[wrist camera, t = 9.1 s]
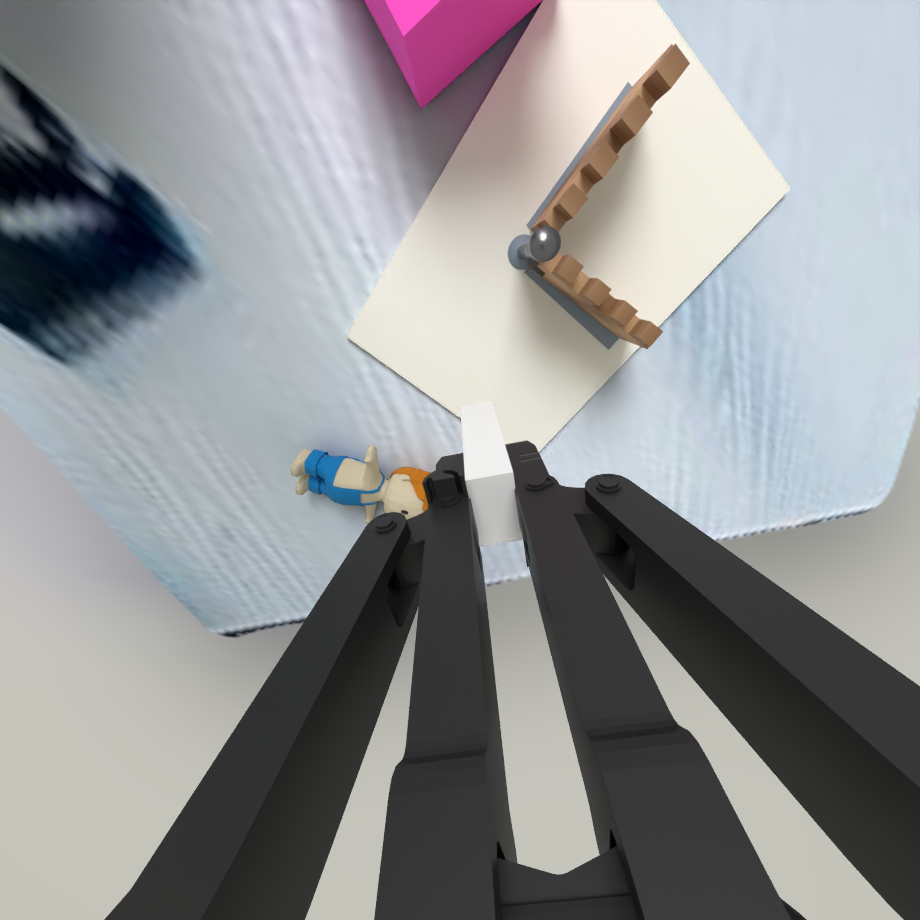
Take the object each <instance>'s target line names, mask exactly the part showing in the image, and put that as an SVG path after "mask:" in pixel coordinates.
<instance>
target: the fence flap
mask: <svg viewBox="0 0 920 920" xmlns="http://www.w3.org/2000/svg"><path fill="white" fill-rule="evenodd" d="M583 267H584V266H583V265H581V264H580V263H579V262H578V261H577V260H575V259H574V258H573V257H572V256H570V255H565V256H562V255H561V254H560V253H557V255H556V256H555V257H554V258H553V259H551V260H549V261H546V262H538V261H536V260H533V262H532V263H531V265H530V266H529V270H531V271H532V272H533V273H534V274H536V275H537V276H538V277H542V278H543V279H544V280H546V281H547V282H548V283H549V284H551V285H552V286H553V287H554V288H556V289H557V290H558V291H560V292H561V293H562V294H563V295H565V296H566V297H567V298H569V299H570V300H571V301H572V302H574V303H575V304H576V305H578V306H579V307H580V308H581V309H583V310H584V311H585V312H587V313H588V314H589V315H590V316H592V317H593V318H594V319H596V320H597V321H598V322H599V323H601V324H602V325H603V326H604V327H606V328H607V329H608V330H610V331H611V332H612V333H613V334H615V335H616V336H617V337H619V338H620V339H622V340H625V341H628V342H630V343H633V344H635V345H638V346H641V347H643V348H646V349H648V348H649V347H650V346H651V345H652V344H653V343H654V342H655V340H656V339H657V338H658V337H659V336H660V335H661V333H662V332H663V331H662V330H661V329H659V328H658V327H657V326H656V325H654V324H653V323H652V322H651V321H647V320H642V319H639V318H638V317H637V316H636V315H635V314H636V313H637V312H638V311H637V310H636V309H635V308H634V307H633V306H631V305H630V304H629V303H628V302H626V301H625V300H619V299H615V298H614V297H612V296H611V295H610V294H609V292H610V291H611V290H612V289H611V288H609V287H608V286H607V285H606V284H605V283H603V282H602V281H601V280H600V279H598V278H589V277H588V276H587V275H585V274H584V273H583V272H582V271H581V270H582V269H583Z"/></svg>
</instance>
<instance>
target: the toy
mask: <svg viewBox="0 0 920 920" xmlns="http://www.w3.org/2000/svg"><path fill="white" fill-rule="evenodd" d="M364 462H366V464H365V463H363V462H362V461H360V460H358V459H354V458H350V457H347V456H338V457H332V456H330V455H328V452H323V451H319V450H313V451H310V450H307V449H303V450H301V452H300V453H299V454H298V456H297V457H296V459H295V460H294V462H293V463H292V466H291V474H292V476H296V477H299V476H300V478H299V480H298V481H297V484H296V493H297V494H299V495H303V494H304V493H305V492H306V491H308V490H310V491H312V492H315V493H317V494H321V493H323V494H325V495H326V496H328V497H329V498H330V499H331V500H332V501H334V502H336V503H340V504H343V505H362V506H365V509H366V519H365V522H366V523H369V522H370V521H371V520H372V519H373V517H374V515H375V510H376V505H377V503H378V502H379V501H383V502H384V511H385V513H389V512H398V513H401V514H403V515H405V517H406V520H407V519H410V518H412V517H415V516H417V515H419V514H421V513H423V512H424V511H426V510H427V509H428V502H427V498H426V495H425V492H424V488H423V485H422V482H423V480H424V478H425V477H426V476H427V475H428V474H430V472H426V471H423V470H420V469H416V468H411V467H402V468H400V469H397V470H395V471H394V472H393V473H392V474H391V476H390V480H387V479H386V478H385V477H384V475H383V474H382V473H381V471H380V470H379V466H378V461H377V450H376V448H375V446H374V445H370V446H369V448H368V451H367V454H366V457H365V460H364ZM435 471H436V470H435Z"/></svg>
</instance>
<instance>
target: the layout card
mask: <svg viewBox="0 0 920 920" xmlns="http://www.w3.org/2000/svg"><path fill="white" fill-rule="evenodd" d="M671 44H672V45H673V46H674V45H675V44H676V45H677V46H678V47H679V49H680V50H681V51H682V53H683V54H684V56H685V57H686V58H687V60H688V61H689V63H690V64H689V65H688V67H687V68H686V69H685V71H684V72H683V73H682V75H681V76H680V77H679V79H678V80H677V81H676V83H675V84H674V85H673V87H672V88H671V89H670V90H669V91H668V92H667V93H665V94H664V95H663V96H662V97H661V98H660V99H659V100H657V101H656V103H655V104H654V105H653V107H652V108H651V110H652V112H653V113H652V115H651V116H650V117H649V119H648V120H647V121H646V122H645V124H644V125H643V126H642V128H641V129H640V130H639V132H638V133H637V134H636V136H634V137H633V138H632V139H631V140H629V141H628V142H627V143H625V144H624V145H623V147H622V148H621V149H620V151H619V152H618V153H617V155H618V156H619V158H618V160H617V161H616V162H615V164H614V165H613V166H612V168H611V169H610V170H609V172H608V173H607V174H606V176H605V177H604V178H603V179H602V180H600V181H599V182H597V183H596V184H594V185H593V187H592V188H591V189H590V191H589V192H588V193H587V195H586V197H587V198H588V199H587V201H586V202H585V203H584V205H583V206H582V207H581V209H580V210H579V211H578V213H577V214H576V215H575V217H574V218H572V219H570V220H568V221H566V223H565V224H564V225H563V227H562V228H561V229H560V231H559V232H558V233H559V235H560V238H561V246H560V249H559V252H558V253H560V254H561V255H562V256H565V255H570V256H572V257H573V258H574V259H575V260H577V261H578V262H579V263H580V264H581V265H583V266H584V267H583V269H582V270H581V271H582V272H583V273H584V274H585V275H587V276H588V277H589V278H598V279H600V280H601V281H602V282H603V283H605V284H606V285H607V286H608V287H609V288H611V289H612V290H611V291H610V292H609V294H610V295H611V296H612V297H614V298H615V299H619V300H625V301H626V302H628V303H629V304H630V305H631V306H633V307H634V308H635V309H636V310H637V311H638V312H637V313H636V314H635V315H636V316H637V317H638V318H639V319H642V320H647V321H651V322H652V323H653V324H654V325H656V326H657V327H659V326H660V325H661V324H662V323H663V322H664V321H665V320H666V319H667V317H668V316H669V315H670V314H671V313H672V312H673V311H674V310H675V309H676V308H677V307H678V306H679V305H680V304H681V303H682V302H683V301H684V300H685V299H686V298H687V297H688V295H689V294H690V293H691V292H692V291H693V290H694V289H695V288H696V287H697V286H698V285H699V284H700V283H701V282H702V281H703V280H704V279H705V278H706V277H707V276H708V275H709V273H710V272H711V271H712V270H713V269H714V268H715V267H716V266H717V265H718V264H719V263H720V262H721V261H722V260H723V259H724V258H725V257H726V256H727V255H728V254H729V253H730V252H731V250H732V249H733V248H734V247H735V246H736V245H737V244H738V243H739V242H740V241H741V240H742V239H743V238H744V237H745V236H746V235H747V234H748V233H749V232H750V231H751V230H752V228H753V227H754V226H755V225H756V224H757V223H758V222H759V221H760V220H761V219H762V218H763V217H764V216H765V215H766V214H767V213H768V212H769V211H770V210H771V209H772V208H773V206H774V205H775V204H776V203H777V202H778V201H779V200H780V199H781V198H782V197H783V196H784V195H785V194H786V193H787V192H788V191H789V190H790V187H789V186H788V184H787V183H786V182H785V180H784V179H783V177H782V176H781V175H780V173H779V172H778V170H777V169H776V168H775V166H774V165H773V163H772V162H771V161H770V159H769V158H768V156H767V155H766V154H765V152H764V151H763V149H762V148H761V147H760V145H759V144H758V142H757V141H756V140H755V138H754V137H753V135H752V134H751V133H750V131H749V130H748V128H747V127H746V126H745V124H744V123H743V121H742V120H741V119H740V117H739V116H738V114H737V113H736V112H735V110H734V109H733V107H732V106H731V105H730V103H729V102H728V100H727V99H726V98H725V96H724V95H723V93H722V92H721V91H720V89H719V88H718V86H717V85H716V84H715V82H714V81H713V79H712V78H711V77H710V75H709V74H708V72H707V71H706V70H705V68H704V67H703V65H702V64H701V63H700V61H699V60H698V58H697V57H696V56H695V54H694V53H693V51H692V50H691V49H690V47H689V46H688V44H687V43H686V42H685V40H684V39H683V38H682V36H681V35H680V33H679V32H678V31H677V29H676V28H675V26H674V25H673V24H672V22H671V21H670V19H669V18H668V17H667V15H666V14H665V12H664V11H663V10H662V8H661V7H660V5H659V4H658V3H657V1H656V0H543V1H542V3H541V5H540V6H539V8H538V10H537V11H536V13H535V15H534V17H533V18H532V20H531V22H530V23H529V25H528V27H527V29H526V30H525V32H524V34H523V35H522V37H521V39H520V40H519V42H518V44H517V46H516V47H515V49H514V51H513V52H512V54H511V56H510V57H509V59H508V61H507V63H506V64H505V66H504V68H503V69H502V71H501V73H500V75H499V76H498V78H497V80H496V81H495V83H494V85H493V86H492V88H491V90H490V92H489V93H488V95H487V97H486V98H485V100H484V102H483V104H482V105H481V107H480V109H479V110H478V112H477V114H476V115H475V117H474V119H473V121H472V122H471V124H470V126H469V127H468V129H467V131H466V133H465V134H464V136H463V138H462V139H461V141H460V143H459V144H458V146H457V148H456V150H455V151H454V153H453V155H452V156H451V158H450V160H449V162H448V163H447V165H446V167H445V168H444V170H443V172H442V173H441V175H440V177H439V179H438V180H437V182H436V184H435V185H434V187H433V189H432V190H431V192H430V194H429V196H428V197H427V199H426V201H425V202H424V204H423V206H422V208H421V209H420V211H419V213H418V214H417V216H416V218H415V219H414V221H413V223H412V225H411V226H410V228H409V230H408V231H407V233H406V235H405V237H404V238H403V240H402V242H401V243H400V245H399V247H398V248H397V250H396V252H395V254H394V255H393V257H392V259H391V260H390V262H389V264H388V266H387V267H386V269H385V271H384V272H383V274H382V276H381V277H380V279H379V281H378V283H377V284H376V286H375V288H374V289H373V291H372V293H371V294H370V296H369V298H368V300H367V301H366V303H365V305H364V306H363V308H362V310H361V312H360V313H359V315H358V317H357V318H356V320H355V322H354V323H353V325H352V327H351V329H350V330H349V332H348V334H347V335H346V337H347V338H349V339H350V340H352V341H353V342H354V343H356V344H357V345H359V346H360V347H361V348H363V349H364V350H366V351H367V352H368V353H370V354H371V355H373V356H374V357H375V358H377V359H378V360H380V361H381V362H382V363H384V364H385V365H387V366H388V367H389V368H391V369H392V370H394V371H395V372H396V373H398V374H399V375H401V376H402V377H403V378H405V379H406V380H408V381H409V382H410V383H412V384H413V385H415V386H416V387H417V388H419V389H420V390H422V391H423V392H424V393H426V394H427V395H429V396H430V397H431V398H433V399H434V400H436V401H437V402H438V403H440V404H441V405H443V406H444V407H445V408H447V409H448V410H449V411H451V412H452V413H454V414H455V415H456V416H458V417H459V418H461V409H460V407H462V406H467V405H472V404H477V403H483V402H488V401H492V403H493V406H494V410H495V413H496V416H497V420H498V423H499V426H500V430H501V433H502V436H503V440H504V443H505V444H510V443H516V442H521V441H527V440H528V441H529V442H531V443H533V444H534V445H535V446H536V448H537V450H538V453H539V452H540V450H541V449H542V448H543V447H544V446H545V445H546V444H547V443H548V442H549V441H550V440H551V439H552V438H553V437H554V436H555V435H556V434H557V433H558V432H559V431H560V430H561V428H562V427H563V426H564V425H565V424H566V423H567V422H568V421H569V420H570V419H571V418H572V417H573V416H574V415H575V414H576V413H577V412H578V411H579V410H580V409H581V408H582V406H583V405H584V404H585V403H586V402H587V401H588V400H589V399H590V398H591V397H592V396H593V395H594V394H595V393H596V392H597V391H598V390H599V389H600V388H601V387H602V386H603V384H604V383H605V382H606V381H607V380H608V379H609V378H610V377H611V376H612V375H613V374H614V373H615V372H616V371H617V370H618V369H619V368H620V367H621V366H622V365H623V364H624V363H625V361H626V360H627V359H628V358H629V357H630V356H631V355H632V354H633V353H634V352H635V351H636V350H637V349H638V348H639V347H640V346H638V345H635V344H633V343H630V342H628V341H625V340H622V339H620V338H619V337H617V336H616V335H615V334H613V333H612V332H611V331H610V330H608V329H607V328H606V327H604V326H603V325H602V324H601V323H599V322H598V321H597V320H596V319H594V318H593V317H592V316H590V315H589V314H588V313H587V312H585V311H584V310H583V309H581V308H580V307H579V306H578V305H576V304H575V303H574V302H572V301H571V300H570V299H569V298H567V297H566V296H565V295H563V294H562V293H561V292H560V291H558V290H557V289H556V288H554V287H553V286H552V285H551V284H549V283H548V282H547V281H546V280H544V279H543V278H542V277H538V276H537V275H536V274H534V273H533V272H532V271H531V270H529V266H530V265H531V263H532V262H533V260H534V259H533V258H528V259H524V260H522V259H519V258H518V256H517V249H518V248H519V247H520V246H521V245H523V244H525V243H527V242H529V239H530V237H531V235H532V234H533V233H534V232H533V231H532V230H531V227H532V226H533V224H534V223H535V222H536V220H537V219H538V218H539V216H540V215H541V213H542V212H543V211H544V209H545V208H546V206H547V205H548V204H549V202H550V201H551V199H552V198H553V197H554V195H555V194H556V192H557V191H558V190H559V188H560V187H561V185H562V184H563V183H564V181H565V180H566V178H567V177H568V176H569V174H570V173H571V171H572V170H573V169H574V167H575V166H576V164H577V163H578V162H579V160H580V159H581V158H582V156H583V155H584V153H585V152H586V151H587V149H588V148H589V146H590V145H591V144H592V142H593V141H594V139H595V138H596V137H597V135H598V134H599V132H600V131H601V130H602V128H603V127H604V125H605V124H606V123H607V121H608V120H609V118H610V117H611V116H612V114H613V113H614V111H615V110H616V109H617V107H618V106H619V105H620V103H621V102H622V100H623V99H624V98H625V96H626V95H627V93H628V92H629V91H630V89H631V88H632V86H633V85H634V84H635V83H636V82H637V81H638V80H639V79H640V78H641V77H642V76H643V74H644V73H645V72H646V71H647V70H648V69H649V68H650V67H651V66H652V65H653V64H654V63H655V61H656V60H657V59H658V58H659V57H660V56H661V55H662V54H663V53H664V52H665V51H666V50H667V48H668V47H669V46H670V45H671Z"/></svg>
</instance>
